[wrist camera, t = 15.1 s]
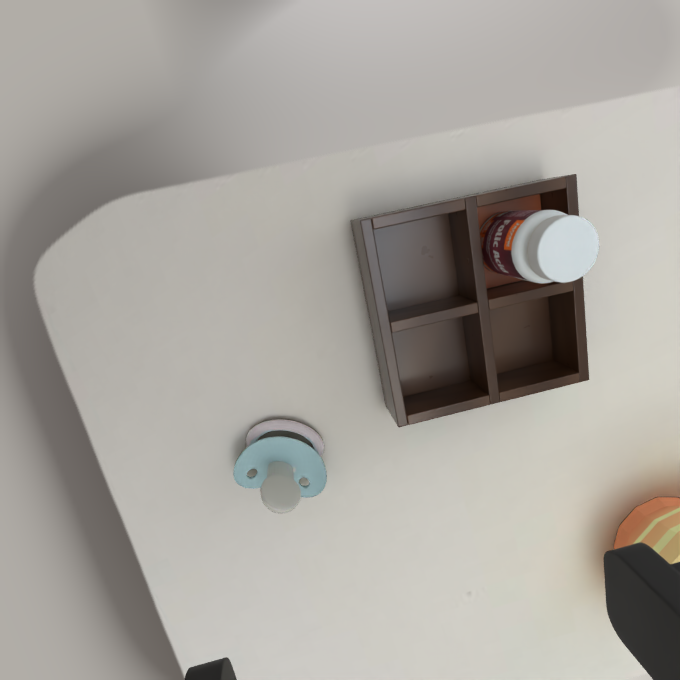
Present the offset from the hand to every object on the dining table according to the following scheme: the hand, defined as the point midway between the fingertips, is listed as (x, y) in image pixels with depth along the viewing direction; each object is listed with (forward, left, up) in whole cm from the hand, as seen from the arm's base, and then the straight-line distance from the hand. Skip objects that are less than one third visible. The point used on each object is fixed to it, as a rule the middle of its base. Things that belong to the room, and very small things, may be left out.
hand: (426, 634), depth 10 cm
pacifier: (+3, -10, -28) cm, 30 cm away
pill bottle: (+9, +13, -27) cm, 32 cm away
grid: (+9, +8, -28) cm, 31 cm away
